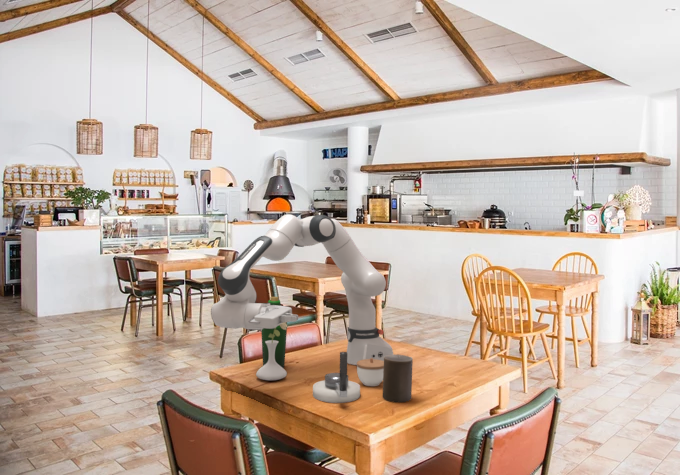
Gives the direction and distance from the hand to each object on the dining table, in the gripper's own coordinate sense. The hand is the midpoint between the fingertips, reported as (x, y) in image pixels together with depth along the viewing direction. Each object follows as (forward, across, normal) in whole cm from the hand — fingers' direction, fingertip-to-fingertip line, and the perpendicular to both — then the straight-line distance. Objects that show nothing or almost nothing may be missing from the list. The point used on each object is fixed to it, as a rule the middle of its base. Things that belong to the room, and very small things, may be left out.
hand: (297, 318), depth 192 cm
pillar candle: (+32, +9, +28) cm, 43 cm away
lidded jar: (+21, +22, +28) cm, 41 cm away
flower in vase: (-15, +20, +27) cm, 37 cm away
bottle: (-20, +33, +27) cm, 47 cm away
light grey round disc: (+12, +6, +27) cm, 30 cm away
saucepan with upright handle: (+14, +2, +23) cm, 27 cm away
